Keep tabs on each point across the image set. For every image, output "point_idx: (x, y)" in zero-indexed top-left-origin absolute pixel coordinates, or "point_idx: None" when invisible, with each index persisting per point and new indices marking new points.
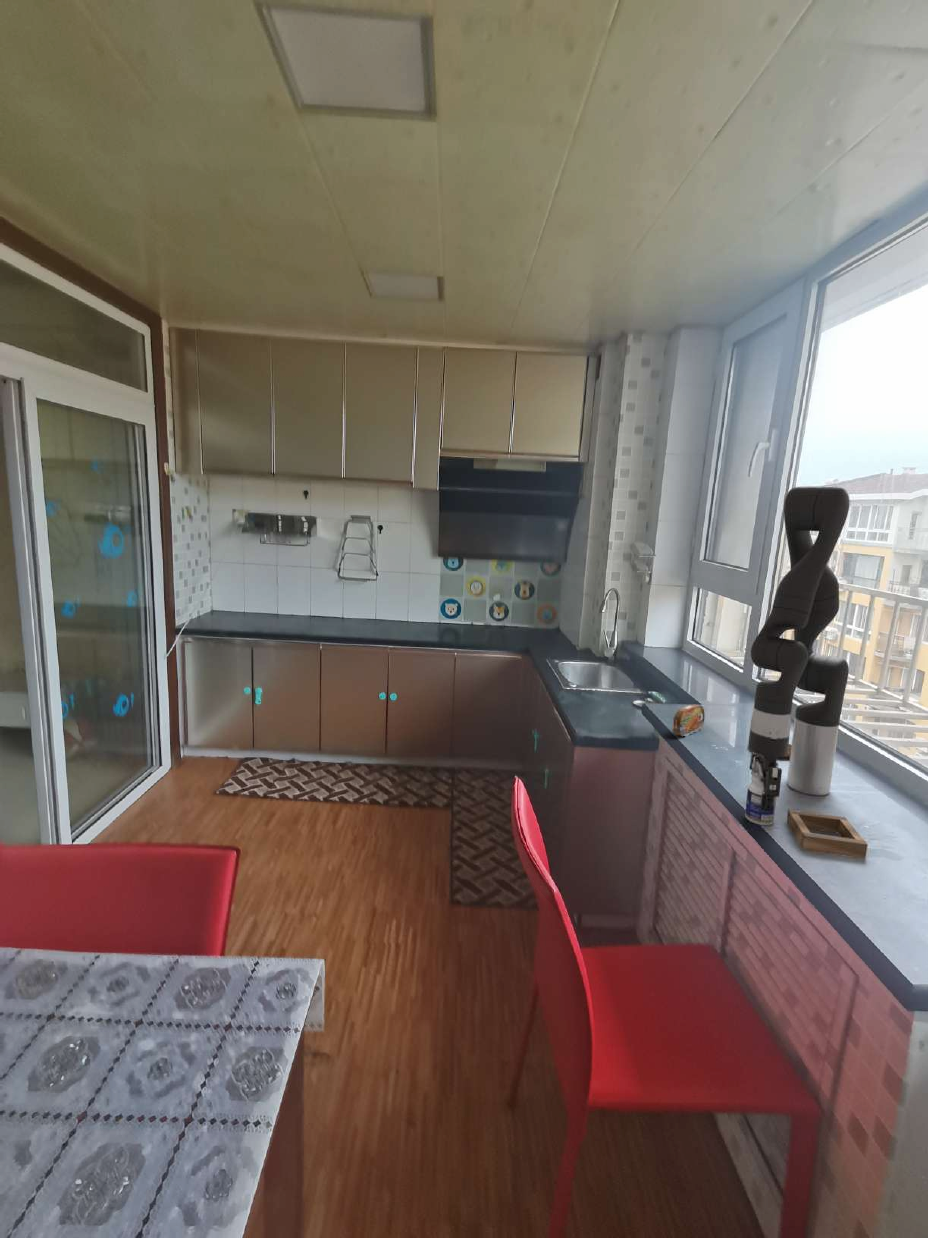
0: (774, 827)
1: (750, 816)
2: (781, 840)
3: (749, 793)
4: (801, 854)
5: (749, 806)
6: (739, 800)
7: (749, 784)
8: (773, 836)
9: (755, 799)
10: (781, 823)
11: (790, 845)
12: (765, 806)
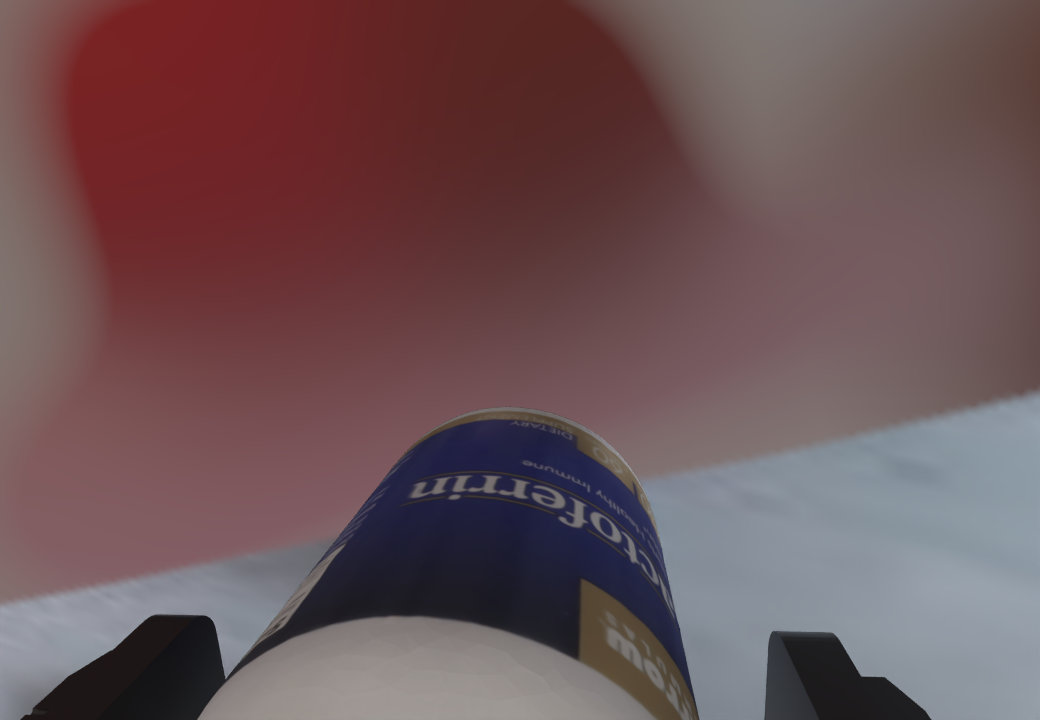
0: None
1: (409, 452)
2: None
3: (350, 584)
4: (22, 693)
5: (393, 485)
6: (972, 426)
7: (474, 716)
8: (219, 571)
9: (270, 623)
10: None
11: None
12: (45, 704)
